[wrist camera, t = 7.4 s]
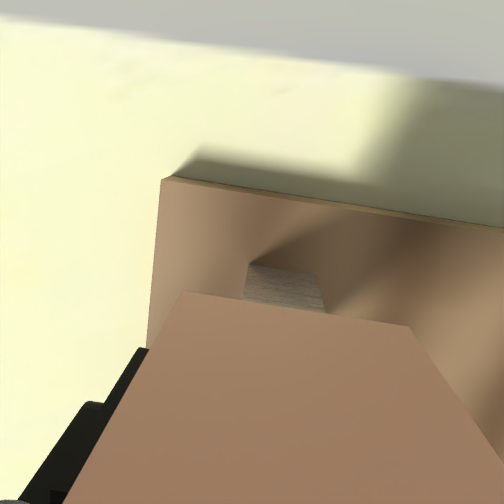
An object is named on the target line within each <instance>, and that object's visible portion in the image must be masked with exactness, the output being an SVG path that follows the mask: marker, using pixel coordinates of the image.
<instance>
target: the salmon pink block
mask: <svg viewBox="0 0 504 504" xmlns="http://www.w3.org/2000/svg"><path fill="white" fill-rule="evenodd" d="M63 504H504V464H503V462H502V461H501V459H500V458H499V456H498V455H497V453H496V452H495V451H494V449H493V448H492V446H491V445H490V443H489V442H488V440H487V439H486V438H485V436H484V435H483V433H482V432H481V430H480V429H479V427H478V426H477V425H476V423H475V422H474V420H473V419H472V417H471V416H470V414H469V413H468V412H467V410H466V409H465V407H464V406H463V404H462V403H461V401H460V400H459V399H458V397H457V396H456V394H455V393H454V391H453V390H452V388H451V387H450V386H449V384H448V383H447V381H446V380H445V378H444V377H443V375H442V374H441V373H440V371H439V370H438V368H437V367H436V365H435V364H434V362H433V361H432V360H431V358H430V357H429V355H428V354H427V352H426V351H425V349H424V348H423V347H422V345H421V344H420V342H419V341H418V339H417V338H416V336H415V335H414V334H413V332H412V331H411V329H410V328H409V327H408V326H401V325H395V324H389V323H382V322H376V321H370V320H363V319H357V318H351V317H345V316H338V315H332V314H326V313H319V312H313V311H307V310H301V309H294V308H288V307H282V306H275V305H269V304H263V303H256V302H250V301H244V300H238V299H231V298H225V297H219V296H212V295H206V294H200V293H193V292H187V291H182V293H181V295H180V296H179V298H178V300H177V302H176V303H175V305H174V307H173V309H172V311H171V312H170V314H169V316H168V318H167V319H166V321H165V323H164V325H163V327H162V328H161V330H160V332H159V334H158V335H157V337H156V339H155V341H154V342H153V344H152V346H151V348H150V350H149V351H148V353H147V355H146V357H145V358H144V360H143V362H142V364H141V365H140V367H139V369H138V371H137V373H136V374H135V376H134V378H133V380H132V381H131V383H130V385H129V387H128V389H127V390H126V392H125V394H124V396H123V397H122V399H121V401H120V403H119V404H118V406H117V408H116V410H115V412H114V413H113V415H112V417H111V419H110V420H109V422H108V424H107V426H106V428H105V429H104V431H103V433H102V435H101V436H100V438H99V440H98V442H97V443H96V445H95V447H94V449H93V451H92V452H91V454H90V456H89V458H88V459H87V461H86V463H85V465H84V466H83V468H82V470H81V472H80V474H79V475H78V477H77V479H76V481H75V482H74V484H73V486H72V488H71V490H70V491H69V493H68V495H67V497H66V498H65V500H64V502H63Z"/></svg>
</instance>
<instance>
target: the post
mask: <svg viewBox="0 0 504 504" xmlns="http://www.w3.org/2000/svg"><path fill="white" fill-rule="evenodd" d="M242 300H244V301H250V302H256V303H263V304H269V305H275V306H282V307H288V308H294V309H301V310H307V311H313V312H319V313H326V312H325V308H324V305H323V301H322V298H321V294H320V291H319V287H318V284H317V281H316V277H315V274H310V273H304V272H297V271H291V270H285V269H278V268H272V267H266V266H260V265H253V264H248V270H247V275H246V280H245V286H244V291H243V296H242Z"/></svg>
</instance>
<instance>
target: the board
mask: <svg viewBox="0 0 504 504" xmlns="http://www.w3.org/2000/svg"><path fill="white" fill-rule="evenodd" d="M248 264H253V265H260V266H266V267H272V268H278V269H285V270H291V271H297V272H304V273H310V274H315V277H316V281H317V284H318V287H319V291H320V294H321V298H322V301H323V305H324V308H325V312H326V314H332V315H338V316H345V317H351V318H357V319H363V320H370V321H376V322H382V323H389V324H395V325H401V326H408V327H409V328H410V329H411V331H412V332H413V334H414V335H415V336H416V338H417V339H418V341H419V342H420V344H421V345H422V347H423V348H424V349H425V351H426V352H427V354H428V355H429V357H430V358H431V360H432V361H433V362H434V364H435V365H436V367H437V368H438V370H439V371H440V373H441V374H442V375H443V377H444V378H445V380H446V381H447V383H448V384H449V386H450V387H451V388H452V390H453V391H454V393H455V394H456V396H457V397H458V399H459V400H460V401H461V403H462V404H463V406H464V407H465V409H466V410H467V412H468V413H469V414H470V416H471V417H472V419H473V420H474V422H475V423H476V425H477V426H478V427H479V429H480V430H481V432H482V433H483V435H484V436H485V438H486V439H487V440H488V442H489V443H490V445H491V446H492V448H493V449H494V451H495V452H496V453H497V455H498V456H499V458H500V459H501V461H502V462H503V464H504V228H499V227H492V226H486V225H480V224H473V223H467V222H461V221H454V220H448V219H442V218H435V217H429V216H423V215H416V214H410V213H404V212H397V211H391V210H385V209H378V208H372V207H366V206H359V205H353V204H347V203H340V202H334V201H328V200H321V199H315V198H309V197H302V196H296V195H290V194H283V193H277V192H271V191H264V190H258V189H252V188H245V187H239V186H233V185H226V184H220V183H214V182H207V181H201V180H195V179H188V178H182V177H176V176H168V177H166V178H164V179H162V180H161V185H160V196H159V207H158V218H157V229H156V240H155V251H154V262H153V273H152V284H151V295H150V306H149V318H148V329H147V340H146V348H147V349H150V348H151V346H152V344H153V342H154V341H155V339H156V337H157V335H158V334H159V332H160V330H161V328H162V327H163V325H164V323H165V321H166V319H167V318H168V316H169V314H170V312H171V311H172V309H173V307H174V305H175V303H176V302H177V300H178V298H179V296H180V295H181V293H182V291H187V292H193V293H200V294H206V295H212V296H219V297H225V298H231V299H238V300H242V296H243V291H244V286H245V280H246V275H247V270H248Z"/></svg>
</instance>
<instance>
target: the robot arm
mask: <svg viewBox="0 0 504 504" xmlns="http://www.w3.org/2000/svg"><path fill="white" fill-rule="evenodd" d="M149 350H150V349H147V348H141V347H139V348H138V349H137V351H136V352H135V354H134V355H133V357H132V359H131V360H130V362H129V363H128V365H127V367H126V368H125V370H124V372H123V373H122V375H121V376H120V378H119V380H118V381H117V383H116V384H115V386H114V388H113V389H112V391H111V393H110V394H109V396H108V397H107V399H106V401H105V402H104V403H100V402H93V401H87V402H86V403H85V404H84V405H83V406H82V407H81V409H80V410H79V412H78V413H77V414H76V416H75V417H74V419H73V420H72V422H71V423H70V425H69V426H68V427H67V429H66V430H65V432H64V433H63V435H62V436H61V438H60V439H59V440H58V442H57V443H56V445H55V446H54V448H53V449H52V451H51V452H50V453H49V455H48V456H47V458H46V459H45V461H44V462H43V464H42V465H41V466H40V468H39V469H38V471H37V472H36V474H35V475H34V477H33V478H32V480H31V481H30V482H29V484H28V485H27V487H26V488H25V490H24V491H23V493H22V494H21V495H20V497H19V498H18V500H0V504H63V502H64V500H65V498H66V497H67V495H68V493H69V491H70V490H71V488H72V486H73V484H74V482H75V481H76V479H77V477H78V475H79V474H80V472H81V470H82V468H83V466H84V465H85V463H86V461H87V459H88V458H89V456H90V454H91V452H92V451H93V449H94V447H95V445H96V443H97V442H98V440H99V438H100V436H101V435H102V433H103V431H104V429H105V428H106V426H107V424H108V422H109V420H110V419H111V417H112V415H113V413H114V412H115V410H116V408H117V406H118V404H119V403H120V401H121V399H122V397H123V396H124V394H125V392H126V390H127V389H128V387H129V385H130V383H131V381H132V380H133V378H134V376H135V374H136V373H137V371H138V369H139V367H140V365H141V364H142V362H143V360H144V358H145V357H146V355H147V353H148V351H149Z"/></svg>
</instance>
